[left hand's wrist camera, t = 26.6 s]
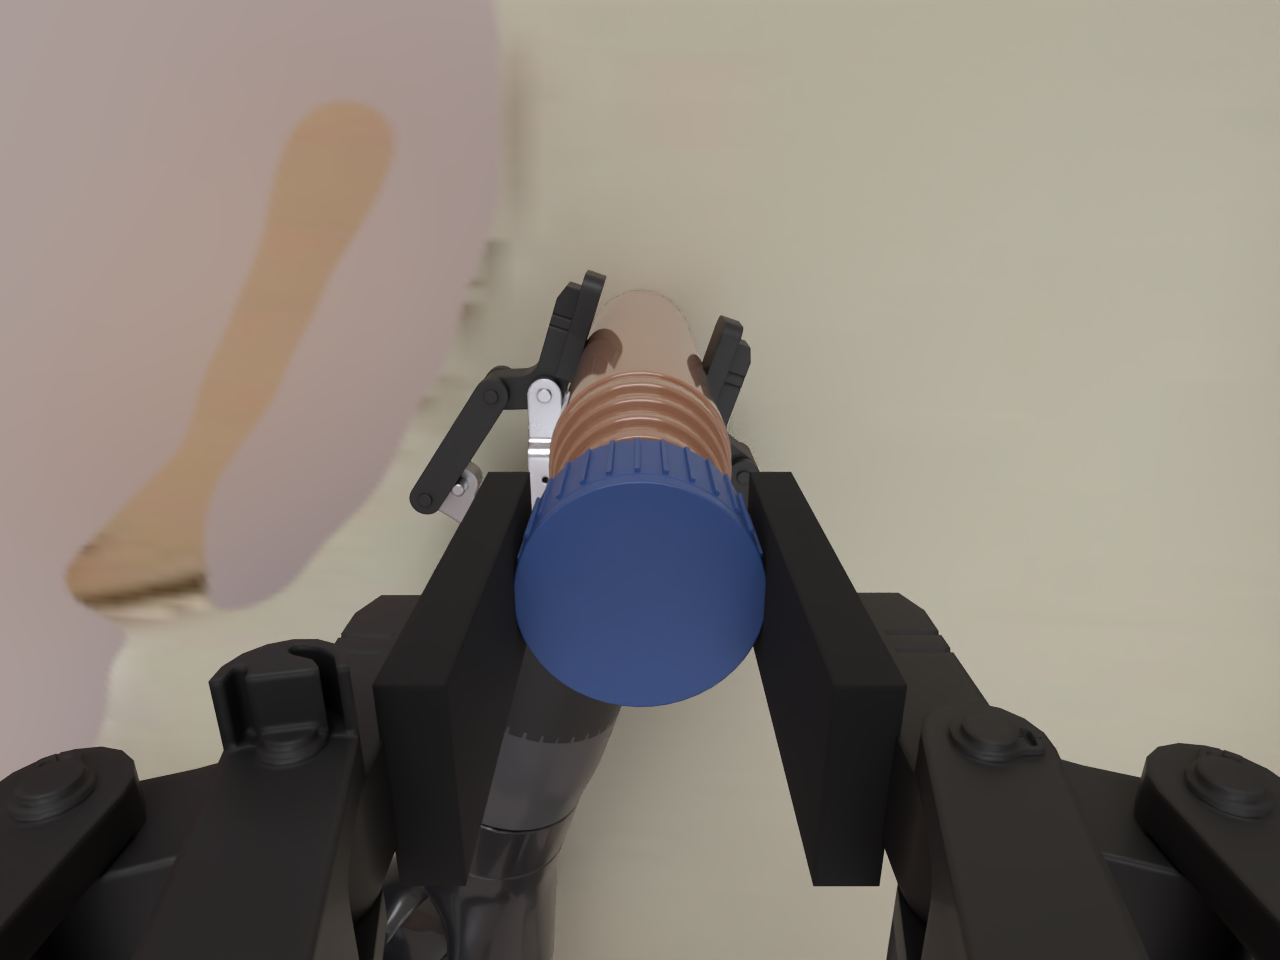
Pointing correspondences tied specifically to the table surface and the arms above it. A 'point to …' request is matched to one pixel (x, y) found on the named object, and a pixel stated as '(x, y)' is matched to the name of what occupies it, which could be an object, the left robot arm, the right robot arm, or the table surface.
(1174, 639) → the table surface
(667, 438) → the bottle
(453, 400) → the table surface
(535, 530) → the cap
